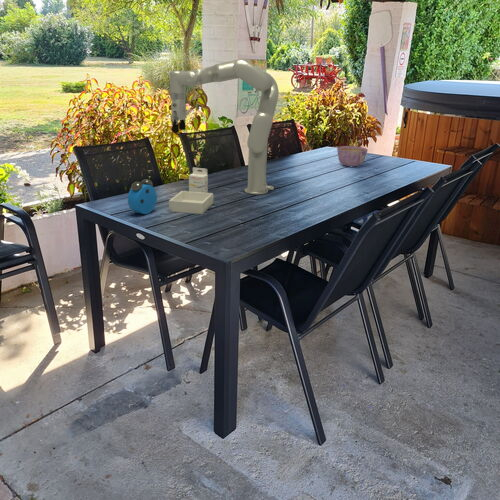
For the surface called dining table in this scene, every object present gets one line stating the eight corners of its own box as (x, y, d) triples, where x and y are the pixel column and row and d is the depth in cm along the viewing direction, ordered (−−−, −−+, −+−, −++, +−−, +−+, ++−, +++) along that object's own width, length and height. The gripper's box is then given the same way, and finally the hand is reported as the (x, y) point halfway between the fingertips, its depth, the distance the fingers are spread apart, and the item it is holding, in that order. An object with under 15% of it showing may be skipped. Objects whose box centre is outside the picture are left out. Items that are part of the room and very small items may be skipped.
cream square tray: (213, 203, 242) (213, 193, 240) (202, 214, 225) (202, 203, 224) (181, 200, 245) (181, 190, 243) (169, 211, 228) (168, 200, 226)
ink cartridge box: (188, 197, 250) (187, 168, 245) (192, 195, 254) (192, 167, 249) (204, 199, 247) (203, 170, 242) (208, 197, 252) (208, 168, 246)
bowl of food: (368, 169, 323) (370, 151, 319) (337, 168, 323) (339, 151, 319) (362, 163, 342) (364, 146, 338) (333, 162, 342) (334, 145, 338)
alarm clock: (147, 208, 231) (146, 176, 226) (158, 210, 228) (156, 178, 223) (128, 215, 221) (126, 182, 215) (139, 218, 218) (137, 184, 212)
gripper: (178, 98, 242) (180, 133, 248) (190, 95, 257) (191, 129, 264) (164, 97, 243) (166, 133, 250) (177, 95, 259) (178, 128, 265)
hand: (179, 131), depth 257 cm, fingers open, 9 cm apart
